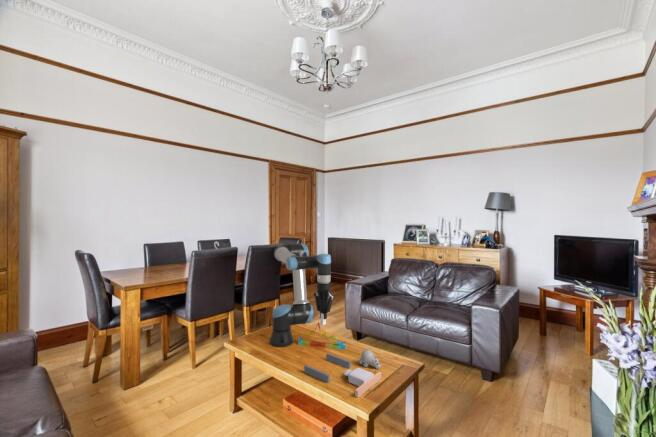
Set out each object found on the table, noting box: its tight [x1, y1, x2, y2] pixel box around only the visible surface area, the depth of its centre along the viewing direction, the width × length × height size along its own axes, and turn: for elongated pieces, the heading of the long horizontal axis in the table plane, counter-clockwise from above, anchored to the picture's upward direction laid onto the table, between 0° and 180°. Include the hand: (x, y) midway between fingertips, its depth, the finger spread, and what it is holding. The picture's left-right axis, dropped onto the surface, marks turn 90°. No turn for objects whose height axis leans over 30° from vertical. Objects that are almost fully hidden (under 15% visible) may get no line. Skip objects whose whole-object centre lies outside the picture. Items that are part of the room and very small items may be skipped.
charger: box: [342, 367, 375, 387], centre depth 155 cm, size 5×9×15 cm
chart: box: [297, 321, 347, 350], centre depth 195 cm, size 30×3×15 cm, turn 78°
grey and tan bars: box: [303, 352, 382, 398], centre depth 159 cm, size 34×22×4 cm, turn 51°
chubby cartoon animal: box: [358, 349, 382, 370], centre depth 169 cm, size 7×12×8 cm, turn 57°
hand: (323, 324), depth 170 cm, fingers closed
